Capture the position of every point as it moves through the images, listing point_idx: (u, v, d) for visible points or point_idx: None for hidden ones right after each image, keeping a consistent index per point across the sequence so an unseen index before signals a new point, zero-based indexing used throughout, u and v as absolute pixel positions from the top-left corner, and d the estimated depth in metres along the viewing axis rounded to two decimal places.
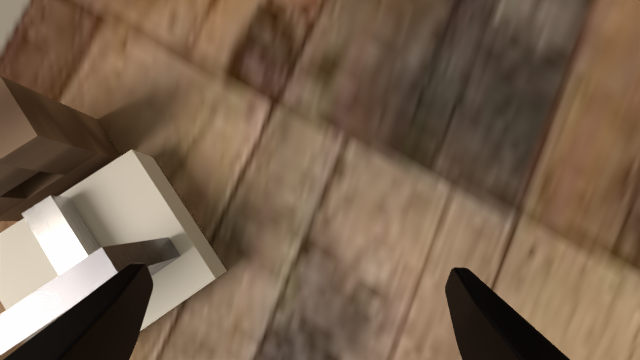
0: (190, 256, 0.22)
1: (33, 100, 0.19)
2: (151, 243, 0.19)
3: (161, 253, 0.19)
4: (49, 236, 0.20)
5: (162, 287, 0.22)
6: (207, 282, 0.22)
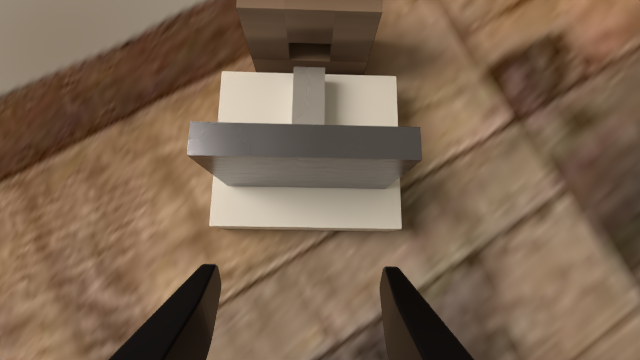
0: (391, 195, 0.21)
1: None
2: None
3: None
4: (304, 98, 0.21)
5: (351, 204, 0.21)
6: (392, 227, 0.21)
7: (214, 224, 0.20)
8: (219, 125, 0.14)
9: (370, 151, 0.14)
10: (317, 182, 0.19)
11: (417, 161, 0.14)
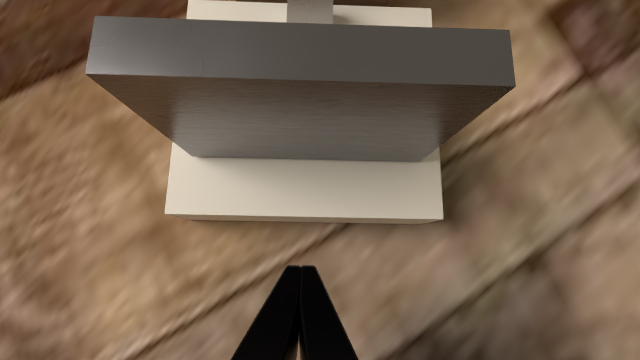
0: (427, 170, 0.15)
1: None
2: None
3: None
4: None
5: (370, 184, 0.15)
6: (430, 216, 0.14)
7: (172, 211, 0.14)
8: (147, 23, 0.08)
9: (422, 70, 0.08)
10: (322, 148, 0.13)
11: (505, 91, 0.08)
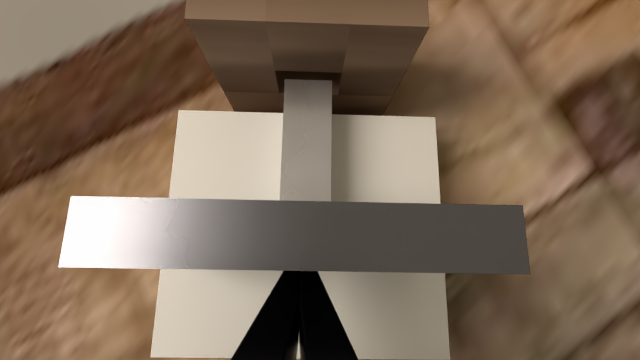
0: (433, 303, 0.14)
1: None
2: None
3: None
4: (300, 127, 0.14)
5: (372, 319, 0.14)
6: (436, 357, 0.13)
7: (158, 354, 0.13)
8: (127, 203, 0.07)
9: (428, 256, 0.07)
10: None
11: (518, 273, 0.07)
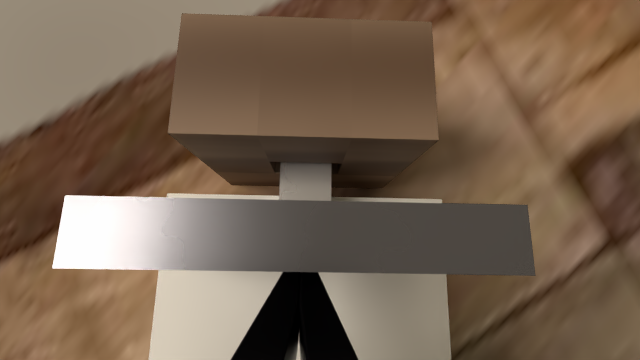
0: None
1: None
2: None
3: None
4: None
5: None
6: None
7: None
8: (123, 203, 0.07)
9: (430, 257, 0.07)
10: None
11: (523, 274, 0.07)
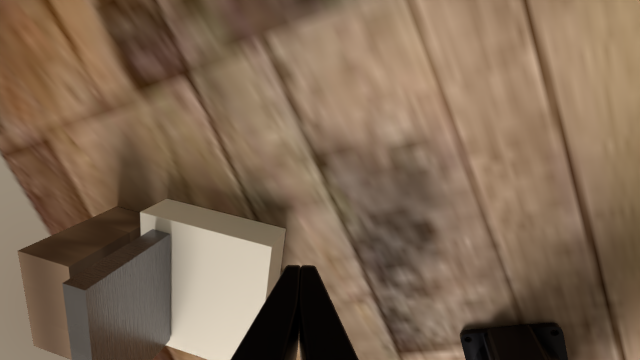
0: (242, 246, 0.23)
1: (53, 243, 0.23)
2: (127, 246, 0.22)
3: (142, 246, 0.22)
4: None
5: (248, 279, 0.24)
6: (269, 253, 0.23)
7: None
8: None
9: (83, 321, 0.19)
10: (155, 296, 0.24)
11: (89, 289, 0.18)
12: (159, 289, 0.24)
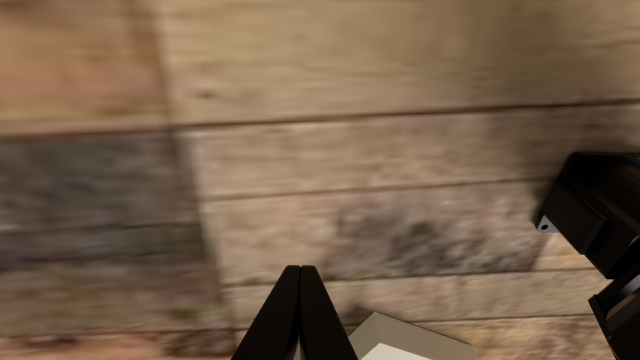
0: (371, 356, 0.29)
1: None
2: None
3: None
4: None
5: None
6: (384, 345, 0.28)
7: None
8: None
9: None
10: None
11: None
12: None
